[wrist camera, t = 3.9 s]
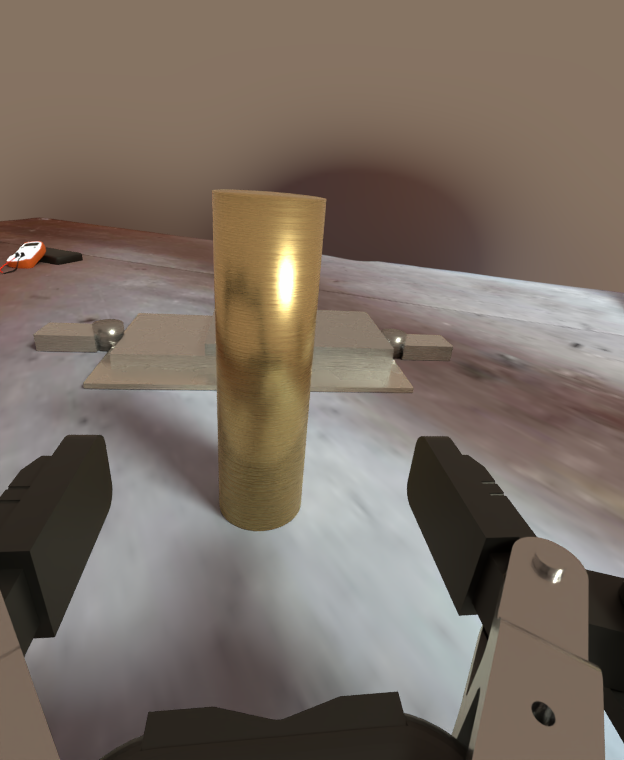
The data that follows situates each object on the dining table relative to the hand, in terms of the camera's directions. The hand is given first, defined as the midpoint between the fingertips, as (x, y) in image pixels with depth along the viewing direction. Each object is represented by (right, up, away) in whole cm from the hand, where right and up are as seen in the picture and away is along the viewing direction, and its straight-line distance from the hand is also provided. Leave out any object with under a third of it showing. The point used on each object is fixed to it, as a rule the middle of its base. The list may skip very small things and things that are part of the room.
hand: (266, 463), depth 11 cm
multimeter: (-39, +17, +48) cm, 64 cm away
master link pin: (-1, -4, +10) cm, 11 cm away
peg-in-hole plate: (-4, +5, +28) cm, 28 cm away
